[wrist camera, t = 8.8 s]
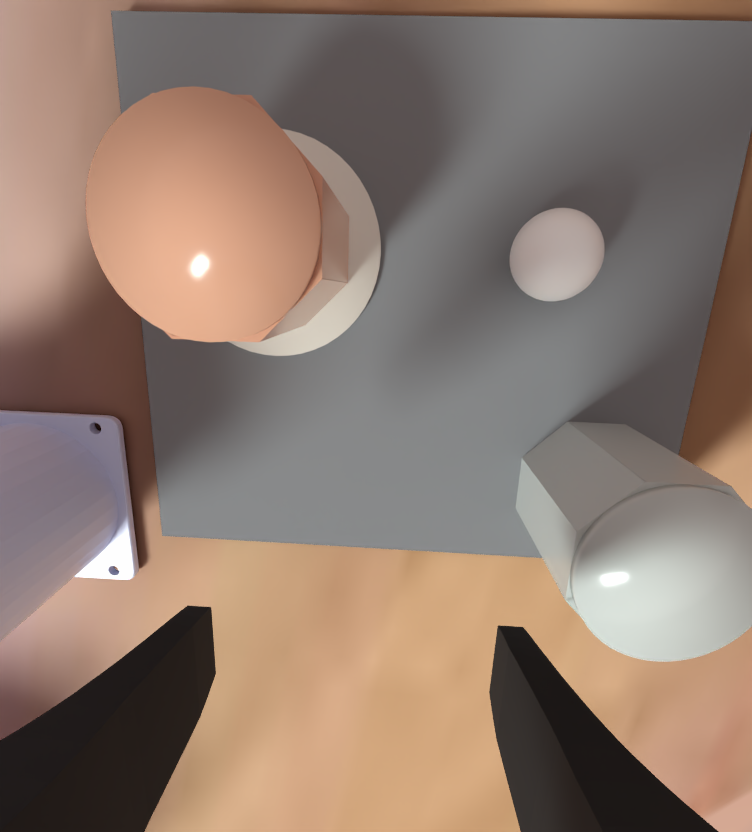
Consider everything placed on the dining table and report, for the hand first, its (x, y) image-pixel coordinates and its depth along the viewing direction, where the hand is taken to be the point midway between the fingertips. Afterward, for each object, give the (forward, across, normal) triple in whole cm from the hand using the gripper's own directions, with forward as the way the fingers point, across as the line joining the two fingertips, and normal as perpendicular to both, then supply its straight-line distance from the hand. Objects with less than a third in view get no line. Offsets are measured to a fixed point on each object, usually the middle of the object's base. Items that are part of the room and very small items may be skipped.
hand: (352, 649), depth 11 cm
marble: (+7, -6, -10) cm, 14 cm away
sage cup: (+9, -9, -1) cm, 13 cm away
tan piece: (+8, +4, -10) cm, 14 cm away
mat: (+9, -2, -8) cm, 12 cm away
